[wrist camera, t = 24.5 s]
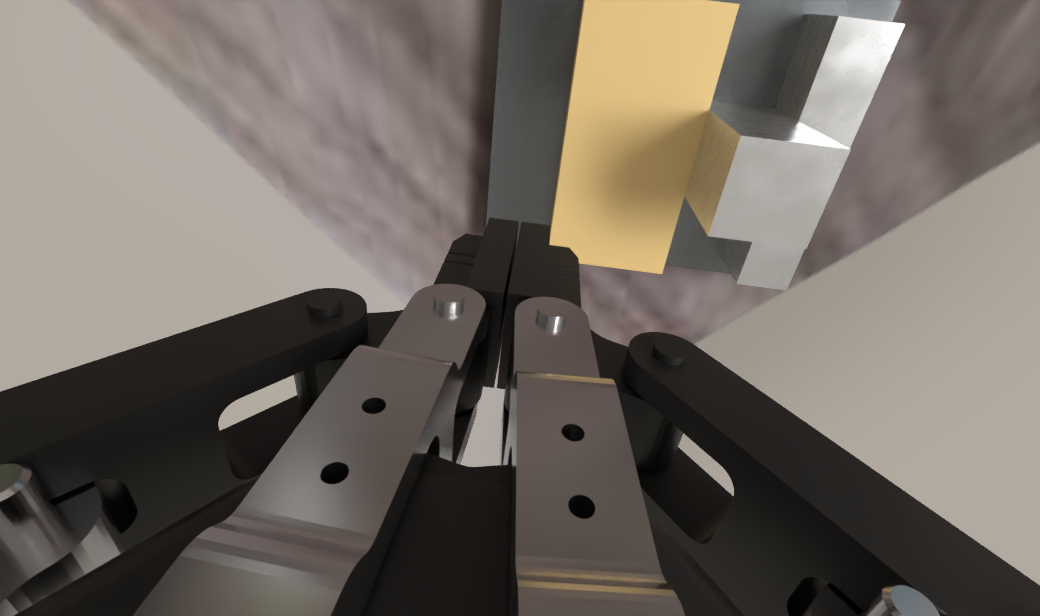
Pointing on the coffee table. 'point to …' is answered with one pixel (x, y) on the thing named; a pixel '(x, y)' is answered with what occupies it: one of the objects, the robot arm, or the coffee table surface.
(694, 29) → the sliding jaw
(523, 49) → the vise base
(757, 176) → the steel block
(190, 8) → the coffee table surface
